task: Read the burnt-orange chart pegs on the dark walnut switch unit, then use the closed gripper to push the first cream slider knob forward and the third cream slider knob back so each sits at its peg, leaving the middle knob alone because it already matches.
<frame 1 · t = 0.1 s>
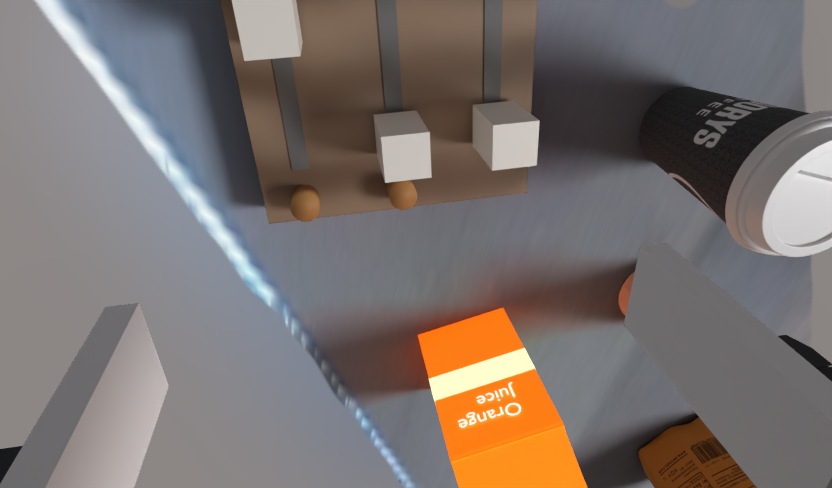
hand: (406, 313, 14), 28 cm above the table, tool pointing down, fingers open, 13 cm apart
switch b: (401, 145, 35), point 6 cm above the table, slide at 4.0 cm
switch a: (270, 23, 30), point 6 cm above the table, slide at -4.0 cm
orange juice: (468, 347, 53), on the table
pepper shaker: (651, 289, 53), on the table
switch c: (503, 134, 35), point 6 cm above the table, slide at 4.0 cm
coffee package: (683, 441, 66), on the table
switch unit: (386, 65, 38), on the table
coffee cup: (674, 125, 44), on the table
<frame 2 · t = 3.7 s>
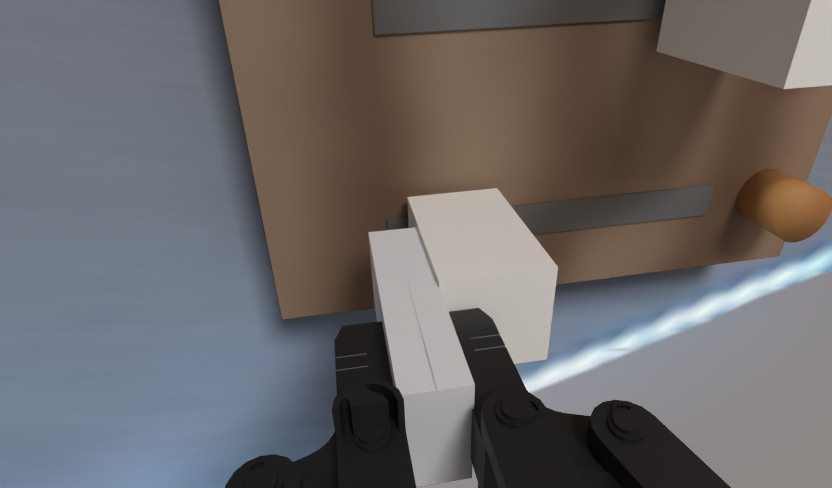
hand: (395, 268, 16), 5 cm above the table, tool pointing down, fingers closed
switch b: (778, 1, 13), point 6 cm above the table, slide at 4.0 cm
switch a: (471, 271, 16), point 6 cm above the table, slide at -3.8 cm, touching gripper
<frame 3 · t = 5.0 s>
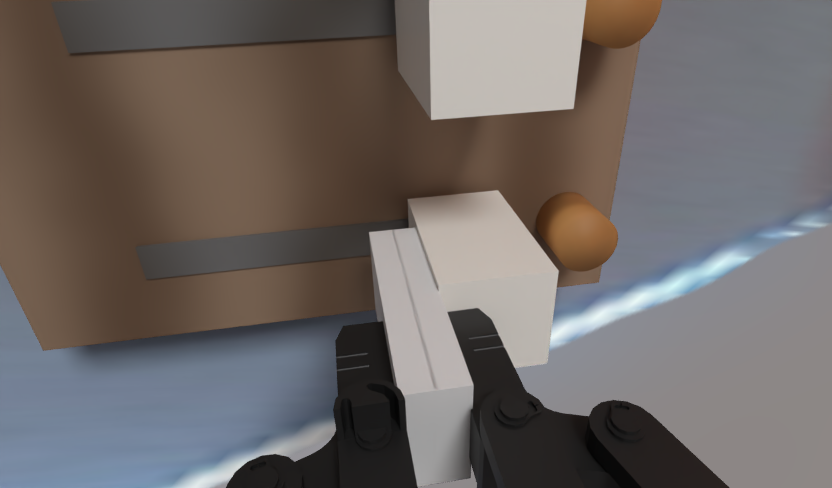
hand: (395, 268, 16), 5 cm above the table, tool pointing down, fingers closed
switch b: (473, 20, 12), point 6 cm above the table, slide at 4.0 cm
switch a: (471, 274, 15), point 6 cm above the table, slide at 4.1 cm, touching gripper
switch unit: (303, 5, 17), on the table
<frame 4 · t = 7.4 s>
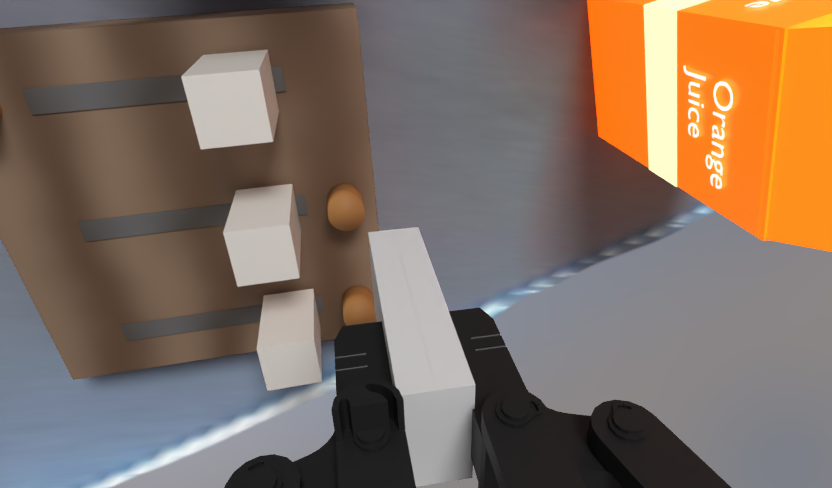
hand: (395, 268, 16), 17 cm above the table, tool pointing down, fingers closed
switch b: (266, 232, 27), point 6 cm above the table, slide at 4.0 cm
switch a: (291, 336, 31), point 6 cm above the table, slide at 4.1 cm
orange juice: (648, 51, 32), on the table
switch c: (236, 96, 24), point 6 cm above the table, slide at 4.0 cm
switch unit: (206, 195, 32), on the table
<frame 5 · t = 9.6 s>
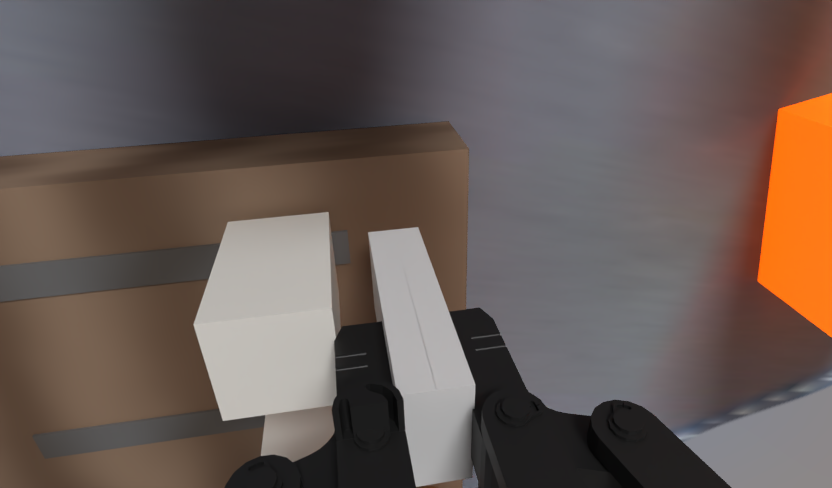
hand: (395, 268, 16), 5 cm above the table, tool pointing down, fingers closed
switch b: (314, 470, 18), point 6 cm above the table, slide at 4.0 cm
switch c: (281, 304, 14), point 6 cm above the table, slide at 4.0 cm, touching gripper
switch unit: (221, 367, 23), on the table
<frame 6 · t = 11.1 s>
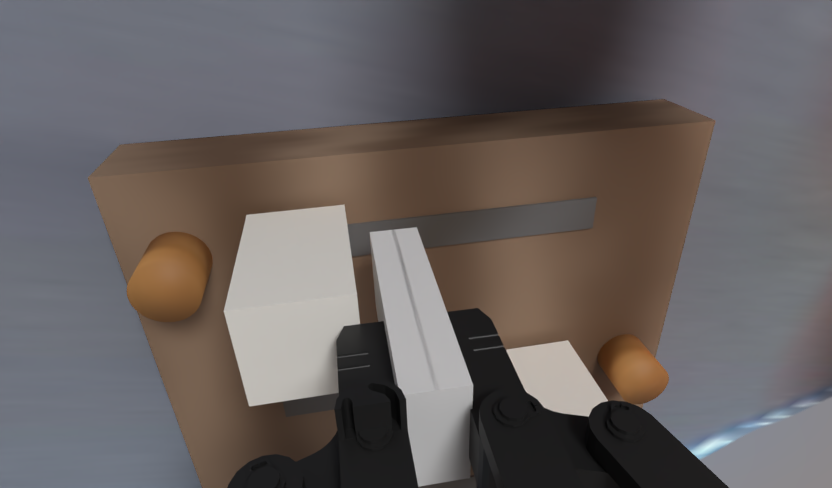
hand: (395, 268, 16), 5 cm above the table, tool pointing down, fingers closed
switch b: (554, 420, 19), point 6 cm above the table, slide at 4.0 cm
switch c: (302, 294, 15), point 6 cm above the table, slide at -4.3 cm, touching gripper
switch unit: (419, 335, 24), on the table
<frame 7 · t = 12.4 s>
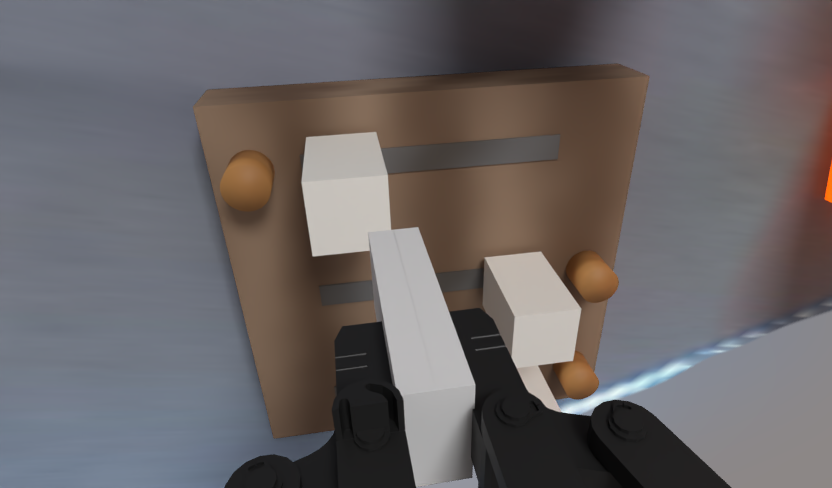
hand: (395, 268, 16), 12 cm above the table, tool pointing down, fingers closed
switch b: (526, 306, 26), point 6 cm above the table, slide at 4.0 cm
switch a: (519, 408, 29), point 6 cm above the table, slide at 4.1 cm
switch c: (346, 189, 21), point 6 cm above the table, slide at -4.1 cm
switch unit: (426, 254, 30), on the table
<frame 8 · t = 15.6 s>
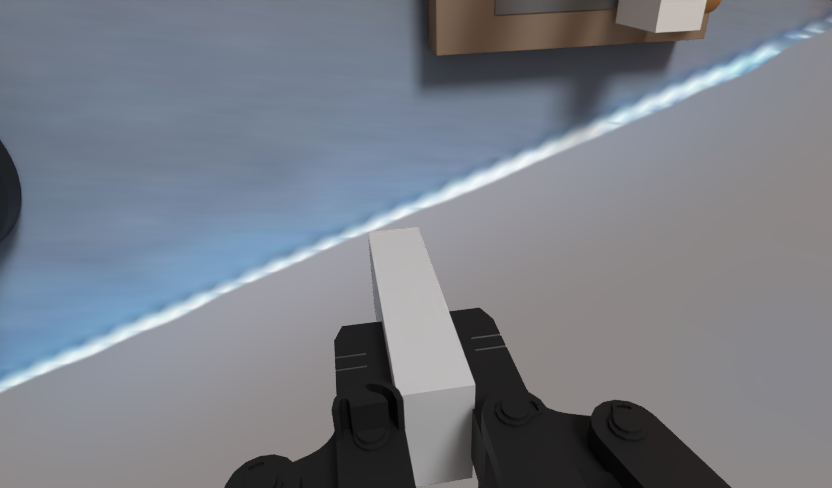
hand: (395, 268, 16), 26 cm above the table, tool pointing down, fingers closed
switch a: (659, 1, 34), point 6 cm above the table, slide at 4.1 cm
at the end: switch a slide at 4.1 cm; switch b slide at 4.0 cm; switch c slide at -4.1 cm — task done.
